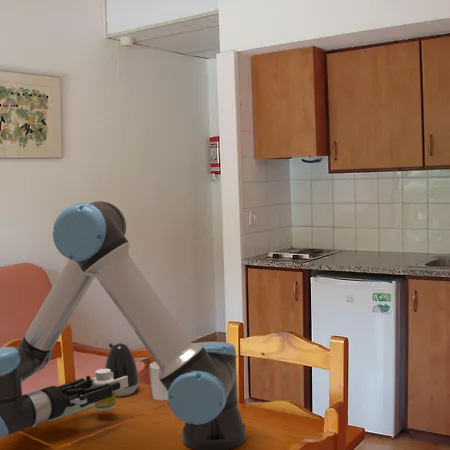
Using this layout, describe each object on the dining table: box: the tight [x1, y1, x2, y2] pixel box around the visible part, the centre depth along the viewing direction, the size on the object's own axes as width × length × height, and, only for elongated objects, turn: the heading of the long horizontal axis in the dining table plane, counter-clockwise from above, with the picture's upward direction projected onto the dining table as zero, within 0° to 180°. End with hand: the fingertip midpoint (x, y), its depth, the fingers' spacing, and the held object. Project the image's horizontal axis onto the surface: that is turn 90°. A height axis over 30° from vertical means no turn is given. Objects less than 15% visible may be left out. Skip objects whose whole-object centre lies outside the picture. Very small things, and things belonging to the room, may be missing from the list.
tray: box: [46, 403, 95, 423], centre depth 173 cm, size 11×16×4 cm
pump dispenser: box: [104, 342, 140, 397], centre depth 184 cm, size 10×10×15 cm
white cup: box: [149, 361, 168, 401], centre depth 179 cm, size 8×8×10 cm
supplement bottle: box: [93, 368, 117, 411], centre depth 165 cm, size 5×5×10 cm
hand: (119, 379), depth 169 cm, fingers closed on supplement bottle, 5 cm apart
